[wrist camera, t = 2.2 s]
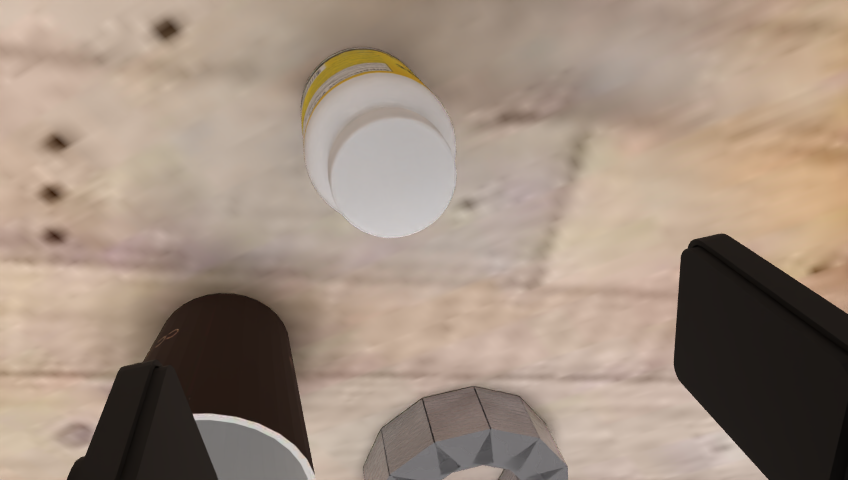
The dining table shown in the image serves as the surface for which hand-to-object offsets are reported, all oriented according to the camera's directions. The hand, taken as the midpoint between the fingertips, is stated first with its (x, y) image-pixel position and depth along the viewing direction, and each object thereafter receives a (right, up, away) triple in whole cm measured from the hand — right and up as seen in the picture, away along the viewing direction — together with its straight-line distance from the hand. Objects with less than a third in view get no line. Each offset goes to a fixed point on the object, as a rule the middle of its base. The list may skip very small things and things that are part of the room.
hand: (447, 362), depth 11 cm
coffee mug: (-12, -4, +21) cm, 24 cm away
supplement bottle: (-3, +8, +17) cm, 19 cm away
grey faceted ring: (+2, -12, +27) cm, 30 cm away
